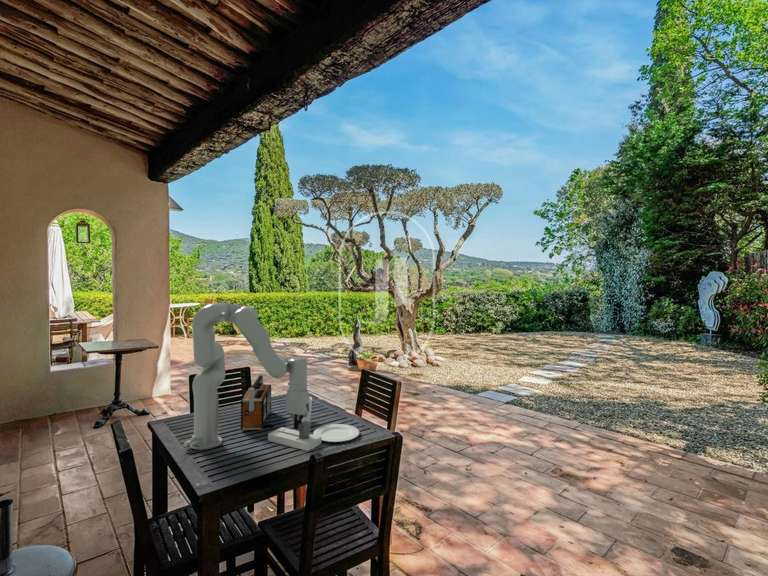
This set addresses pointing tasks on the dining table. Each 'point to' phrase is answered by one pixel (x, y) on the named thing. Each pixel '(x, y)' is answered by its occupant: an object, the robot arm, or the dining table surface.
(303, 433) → the fader knob
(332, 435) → the plate
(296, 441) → the fader console
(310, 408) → the candle holder
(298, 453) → the dining table surface
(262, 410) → the radio cassette player
